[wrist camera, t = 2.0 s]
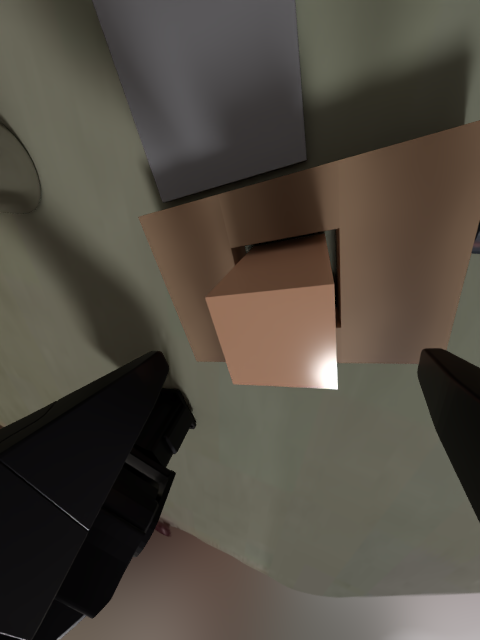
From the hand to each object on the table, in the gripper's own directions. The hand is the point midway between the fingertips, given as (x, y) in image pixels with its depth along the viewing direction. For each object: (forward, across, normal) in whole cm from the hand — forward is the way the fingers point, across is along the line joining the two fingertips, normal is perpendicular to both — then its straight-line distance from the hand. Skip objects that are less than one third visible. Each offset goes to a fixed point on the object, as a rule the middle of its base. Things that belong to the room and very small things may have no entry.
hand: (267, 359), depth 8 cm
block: (+9, 0, 0) cm, 9 cm away
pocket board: (+9, 0, 0) cm, 9 cm away
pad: (+9, +3, -11) cm, 14 cm away
